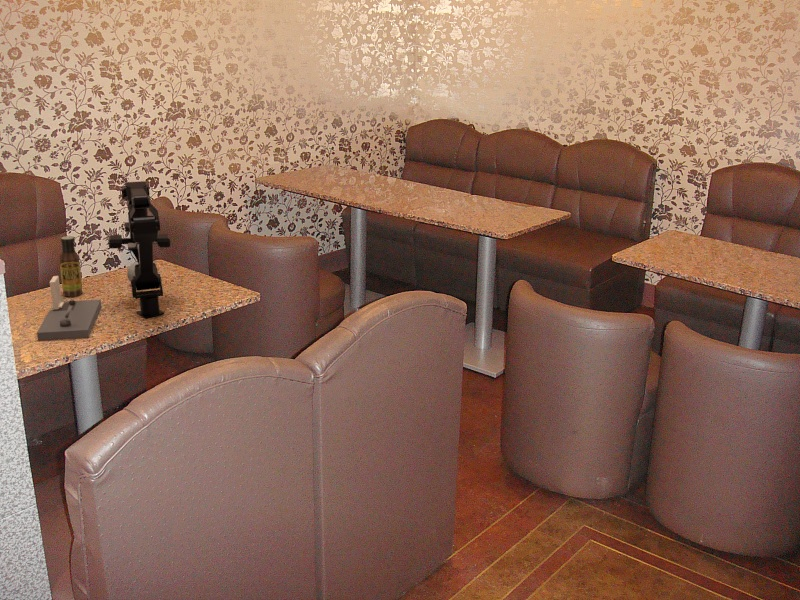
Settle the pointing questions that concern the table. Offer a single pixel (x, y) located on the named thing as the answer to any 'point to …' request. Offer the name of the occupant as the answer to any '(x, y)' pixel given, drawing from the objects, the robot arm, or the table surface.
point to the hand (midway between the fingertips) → (140, 266)
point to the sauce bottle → (70, 268)
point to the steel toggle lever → (69, 308)
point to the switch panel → (70, 321)
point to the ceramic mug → (131, 270)
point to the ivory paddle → (56, 293)
